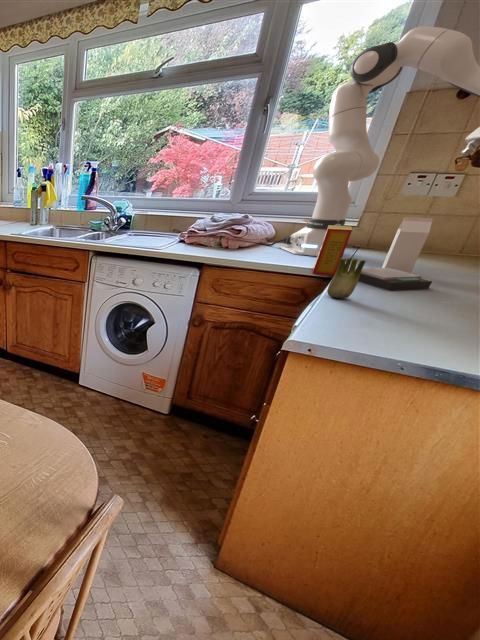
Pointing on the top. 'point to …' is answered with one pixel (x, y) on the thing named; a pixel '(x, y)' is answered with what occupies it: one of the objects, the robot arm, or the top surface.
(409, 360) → the top surface
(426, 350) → the top surface
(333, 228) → the baking soda box
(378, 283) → the scale
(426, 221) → the milk carton
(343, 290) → the fennel bulb
